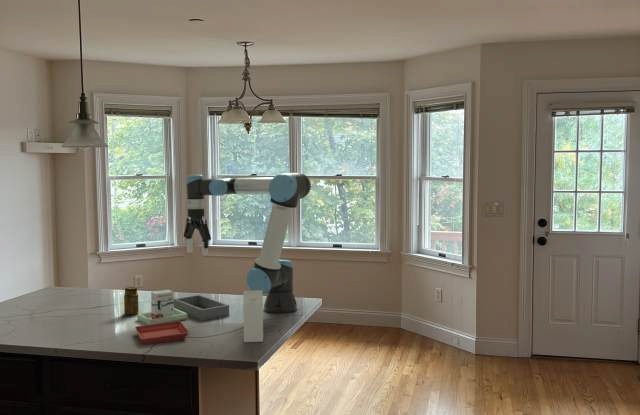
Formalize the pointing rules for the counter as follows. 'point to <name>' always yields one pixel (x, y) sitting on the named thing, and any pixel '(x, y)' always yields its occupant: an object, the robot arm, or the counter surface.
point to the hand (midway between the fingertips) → (197, 253)
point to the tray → (148, 320)
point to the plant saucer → (162, 332)
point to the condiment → (130, 302)
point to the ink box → (162, 303)
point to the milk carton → (253, 316)
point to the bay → (188, 307)
